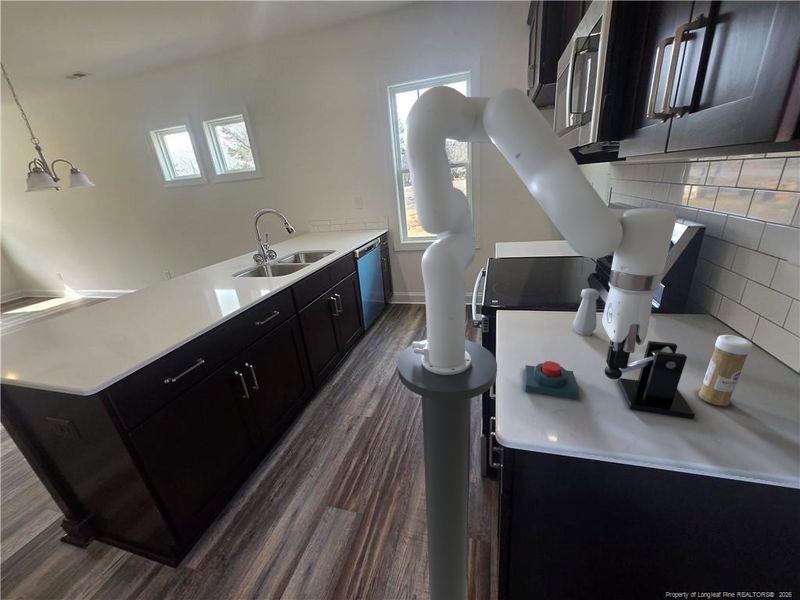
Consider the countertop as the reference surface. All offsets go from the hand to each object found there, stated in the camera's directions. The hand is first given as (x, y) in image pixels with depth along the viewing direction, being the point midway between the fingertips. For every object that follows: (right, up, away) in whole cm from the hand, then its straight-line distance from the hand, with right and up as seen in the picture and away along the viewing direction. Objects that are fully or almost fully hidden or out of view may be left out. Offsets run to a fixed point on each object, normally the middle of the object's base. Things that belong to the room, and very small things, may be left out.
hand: (616, 365), depth 64 cm
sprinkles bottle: (+19, -7, -1) cm, 20 cm away
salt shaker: (+9, +4, +27) cm, 29 cm away
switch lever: (+4, -1, -1) cm, 4 cm away
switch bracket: (+7, -7, 0) cm, 10 cm away
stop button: (-11, -3, +5) cm, 12 cm away
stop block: (-10, -6, +6) cm, 13 cm away
